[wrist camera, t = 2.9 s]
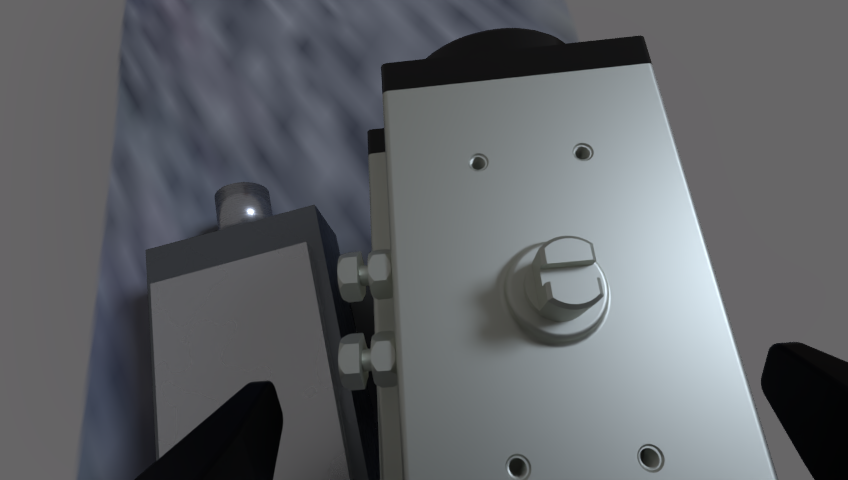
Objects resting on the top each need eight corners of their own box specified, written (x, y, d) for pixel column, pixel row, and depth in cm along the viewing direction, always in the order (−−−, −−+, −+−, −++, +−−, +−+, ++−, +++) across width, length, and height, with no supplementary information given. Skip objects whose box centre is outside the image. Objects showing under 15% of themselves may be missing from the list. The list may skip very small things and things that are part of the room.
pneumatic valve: (536, 210, 19) (650, -86, 8) (594, 548, 15) (1023, 980, 4) (400, 223, 19) (316, -47, 8) (420, 560, 15) (305, 1002, 4)
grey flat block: (414, 611, 15) (401, 668, 11) (225, 665, 14) (157, 741, 11) (326, 192, 20) (300, 149, 17) (188, 229, 20) (134, 193, 16)
